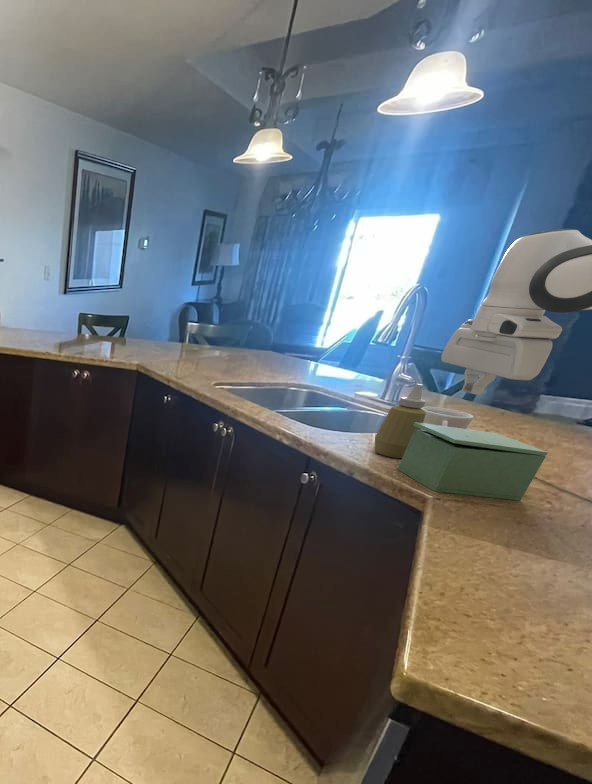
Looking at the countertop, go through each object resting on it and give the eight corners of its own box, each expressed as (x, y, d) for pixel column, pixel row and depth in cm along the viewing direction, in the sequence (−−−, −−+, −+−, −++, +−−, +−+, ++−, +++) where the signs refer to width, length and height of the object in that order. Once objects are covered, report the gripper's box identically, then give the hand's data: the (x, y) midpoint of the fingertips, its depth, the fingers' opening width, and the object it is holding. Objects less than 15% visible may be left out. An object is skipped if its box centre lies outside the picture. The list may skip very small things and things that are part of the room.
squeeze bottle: (416, 462, 119) (450, 389, 112) (377, 457, 122) (407, 385, 114) (400, 451, 126) (431, 382, 119) (363, 447, 129) (391, 379, 121)
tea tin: (434, 491, 103) (456, 447, 99) (397, 469, 114) (414, 429, 110) (520, 500, 100) (546, 456, 96) (473, 477, 112) (494, 436, 108)
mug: (455, 448, 131) (472, 412, 127) (458, 462, 121) (478, 423, 117) (404, 438, 137) (420, 404, 133) (403, 451, 127) (420, 414, 123)
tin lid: (453, 443, 99) (455, 439, 98) (412, 425, 110) (414, 421, 110) (546, 456, 96) (548, 452, 96) (494, 436, 108) (496, 433, 107)
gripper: (448, 317, 105) (420, 381, 111) (529, 328, 87) (491, 403, 92) (482, 318, 104) (452, 383, 109) (572, 330, 85) (530, 406, 91)
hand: (471, 392), depth 101 cm, fingers closed
